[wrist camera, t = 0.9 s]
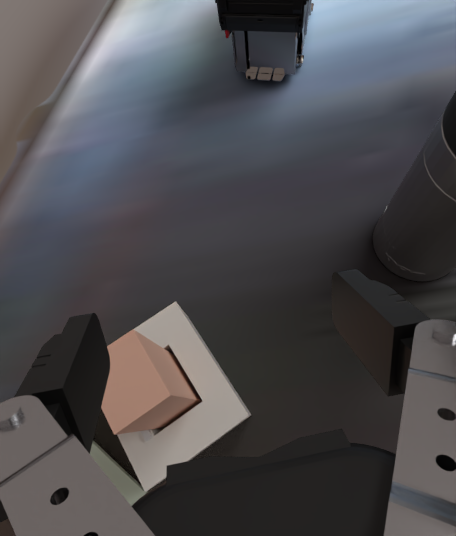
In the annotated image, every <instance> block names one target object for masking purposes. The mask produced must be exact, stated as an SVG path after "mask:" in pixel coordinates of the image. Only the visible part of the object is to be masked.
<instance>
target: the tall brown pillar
mask: <svg viewBox="0 0 456 536" xmlns="http://www.w3.org/2000/svg"><path fill="white" fill-rule="evenodd" d="M107 349H108V352H109V357H110V372H109V376H108V380H107V385H106V389H105V393H104V397H103V401H102V405H101V408H102V410H103V413H104V415H105V417H106V419H107V421H108V423H109V425H110V427H111V429H112V431H113V433H114V435H117V434H123V433H130V432H137V431H143V430H150V429H156V428H163V427H167V426H169V425H170V424H172V423H173V422H174V421H176V420H177V419H179V418H180V417H181V416H183V415H184V414H186V413H187V412H188V411H190V410H191V409H193V408H194V407H195V406H197V405H198V404H200V403H201V402H202V399H201V397H200V396H199V394H198V392H197V391H196V389H195V387H194V386H193V384H192V382H191V381H190V379H189V377H188V376H187V374H186V372H185V371H184V369H183V367H182V366H181V364H180V362H179V361H178V359H177V357H176V356H175V355H173V354H172V353H170V352H168V351H167V350H165V349H164V348H162V347H160V346H159V345H157V344H156V343H154V342H153V341H151V340H149V339H148V338H146V337H145V336H143V335H142V334H140V333H138V332H137V331H135V330H134V329H133V330H131V331H130V332H128V333H127V334H125V335H124V336H122V337H121V338H119V339H118V340H116V341H115V342H113V343H112V344H110V345H109V346H107Z"/></svg>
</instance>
